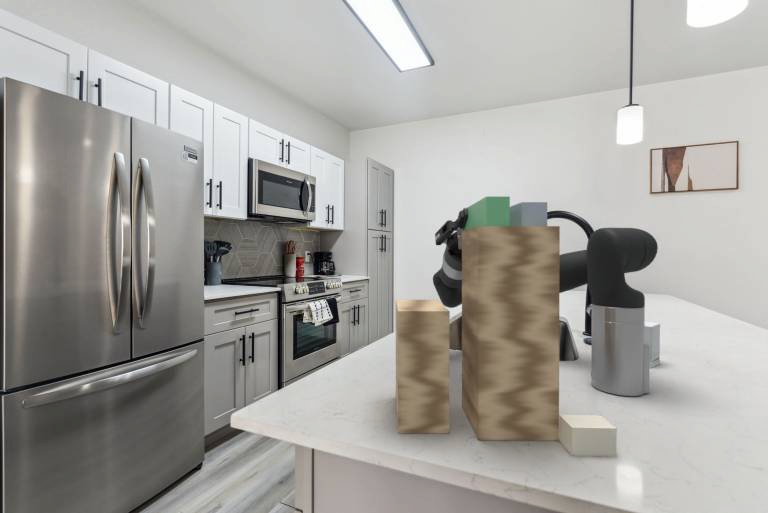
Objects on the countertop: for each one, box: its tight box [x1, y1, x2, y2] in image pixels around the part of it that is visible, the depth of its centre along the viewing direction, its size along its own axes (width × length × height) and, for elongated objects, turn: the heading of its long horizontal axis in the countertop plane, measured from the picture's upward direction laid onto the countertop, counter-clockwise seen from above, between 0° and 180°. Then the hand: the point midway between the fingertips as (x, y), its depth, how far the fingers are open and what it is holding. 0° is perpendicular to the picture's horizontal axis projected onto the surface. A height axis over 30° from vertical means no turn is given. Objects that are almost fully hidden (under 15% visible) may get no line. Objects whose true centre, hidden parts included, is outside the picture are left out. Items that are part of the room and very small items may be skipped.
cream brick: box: [558, 414, 618, 457], centre depth 52 cm, size 6×4×4 cm, turn 88°
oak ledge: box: [395, 299, 451, 434], centre depth 63 cm, size 8×14×19 cm, turn 0°
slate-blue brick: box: [510, 201, 548, 226], centre depth 60 cm, size 4×6×4 cm, turn 0°
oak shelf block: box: [461, 225, 561, 441], centre depth 60 cm, size 12×12×32 cm
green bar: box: [461, 196, 511, 231], centre depth 64 cm, size 4×20×4 cm, turn 0°
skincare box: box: [644, 320, 661, 369], centre depth 94 cm, size 10×6×10 cm, turn 36°
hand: (476, 211), depth 67 cm, fingers closed on green bar, 3 cm apart
